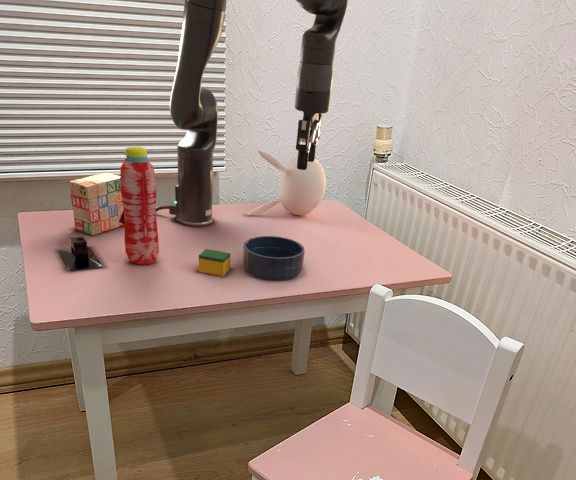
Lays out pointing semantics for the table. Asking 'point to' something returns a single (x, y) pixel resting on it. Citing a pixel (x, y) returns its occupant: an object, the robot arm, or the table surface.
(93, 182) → the stack of blocks
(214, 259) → the sponge
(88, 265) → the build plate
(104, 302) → the table surface
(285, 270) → the bowl
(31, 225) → the table surface
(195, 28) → the robot arm
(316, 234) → the table surface
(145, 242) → the water bottle
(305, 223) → the table surface
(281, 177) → the stuffed toy
